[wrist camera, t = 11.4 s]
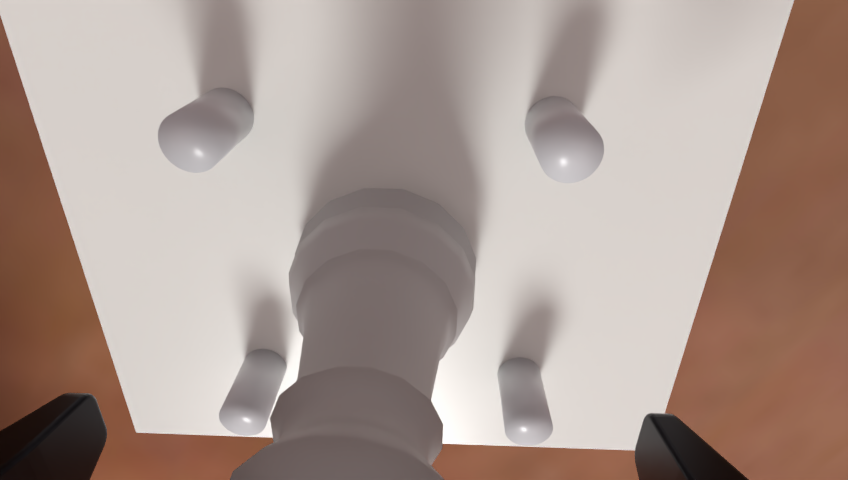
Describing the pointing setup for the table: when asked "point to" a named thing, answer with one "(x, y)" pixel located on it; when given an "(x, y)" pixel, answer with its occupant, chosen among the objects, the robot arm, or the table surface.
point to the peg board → (400, 186)
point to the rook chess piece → (369, 340)
